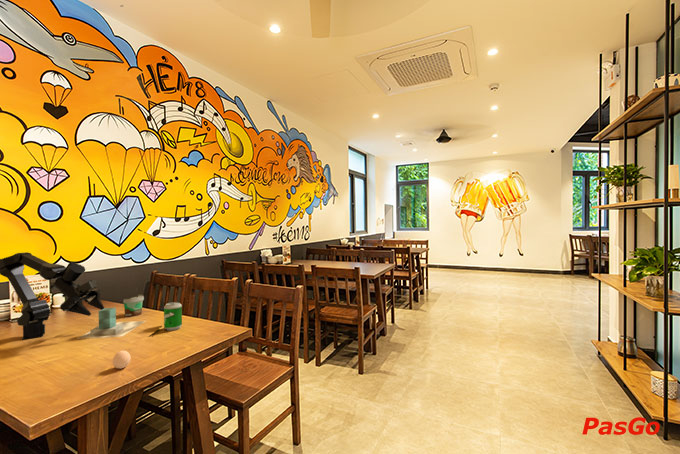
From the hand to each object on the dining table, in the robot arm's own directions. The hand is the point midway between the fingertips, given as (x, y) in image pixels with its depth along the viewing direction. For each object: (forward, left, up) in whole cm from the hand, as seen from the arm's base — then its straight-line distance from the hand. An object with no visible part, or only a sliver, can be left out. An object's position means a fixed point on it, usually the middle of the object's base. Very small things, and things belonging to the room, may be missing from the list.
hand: (97, 312), depth 137 cm
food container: (+18, +30, -11) cm, 37 cm away
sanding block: (+3, -2, -9) cm, 10 cm away
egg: (+5, -44, -11) cm, 46 cm away
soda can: (+28, -10, -11) cm, 32 cm away
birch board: (+6, +2, -11) cm, 13 cm away
